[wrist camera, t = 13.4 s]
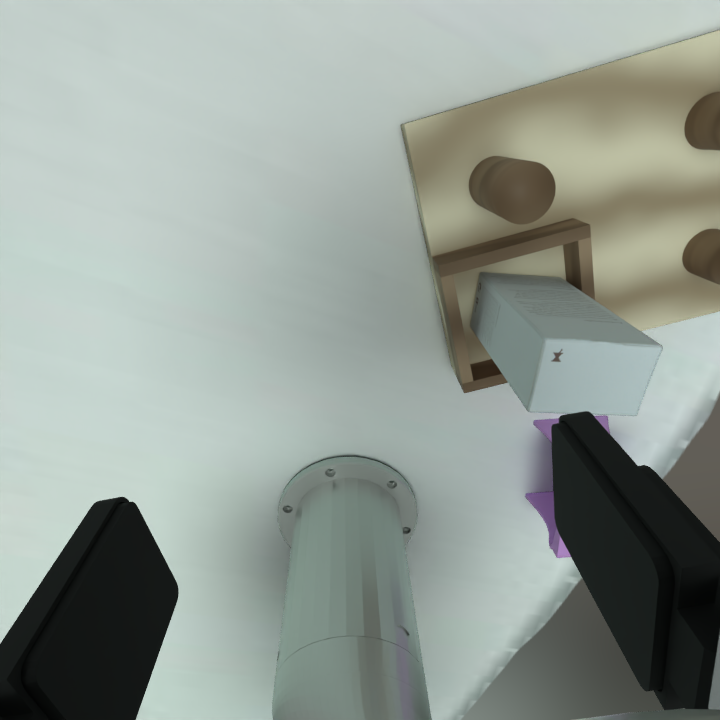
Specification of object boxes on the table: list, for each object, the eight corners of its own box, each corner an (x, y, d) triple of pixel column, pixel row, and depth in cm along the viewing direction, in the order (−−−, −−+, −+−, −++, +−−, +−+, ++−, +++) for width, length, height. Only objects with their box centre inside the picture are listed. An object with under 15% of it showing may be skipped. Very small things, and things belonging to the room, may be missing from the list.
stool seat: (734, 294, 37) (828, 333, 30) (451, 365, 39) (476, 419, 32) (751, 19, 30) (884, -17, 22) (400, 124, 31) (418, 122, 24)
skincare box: (468, 327, 35) (523, 414, 25) (478, 270, 34) (543, 336, 23) (549, 332, 36) (639, 419, 25) (563, 275, 34) (667, 343, 23)
